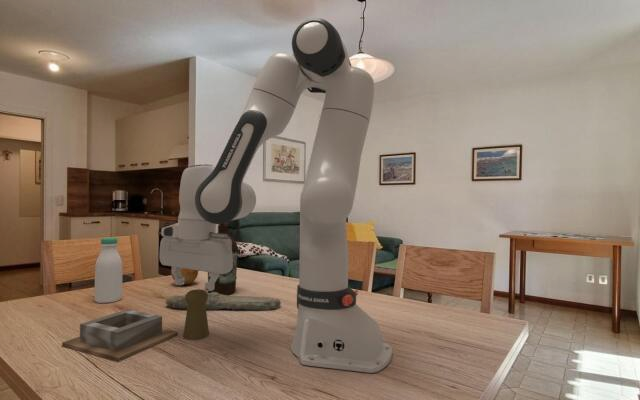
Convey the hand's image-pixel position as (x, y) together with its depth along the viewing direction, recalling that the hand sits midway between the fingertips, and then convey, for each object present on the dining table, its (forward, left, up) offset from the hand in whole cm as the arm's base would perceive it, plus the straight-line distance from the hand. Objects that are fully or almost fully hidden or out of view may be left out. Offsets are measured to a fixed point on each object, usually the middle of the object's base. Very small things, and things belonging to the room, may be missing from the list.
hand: (194, 287), depth 89 cm
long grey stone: (+8, -22, -12) cm, 26 cm away
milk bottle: (+45, -11, -12) cm, 48 cm away
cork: (-1, 0, -12) cm, 12 cm away
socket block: (+12, +10, -12) cm, 20 cm away
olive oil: (+19, -35, -12) cm, 42 cm away
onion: (+39, -38, -12) cm, 56 cm away
